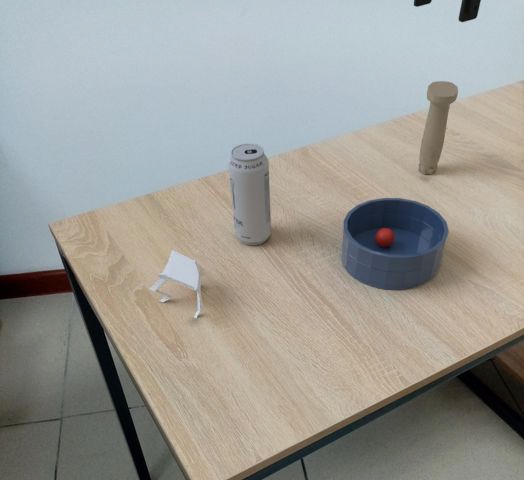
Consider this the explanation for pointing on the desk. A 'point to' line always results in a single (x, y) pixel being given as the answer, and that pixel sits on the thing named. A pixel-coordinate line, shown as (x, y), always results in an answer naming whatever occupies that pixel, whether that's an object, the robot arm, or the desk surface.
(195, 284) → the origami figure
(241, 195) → the energy drink can
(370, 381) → the desk surface
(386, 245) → the bead
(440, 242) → the bowl
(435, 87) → the handle
